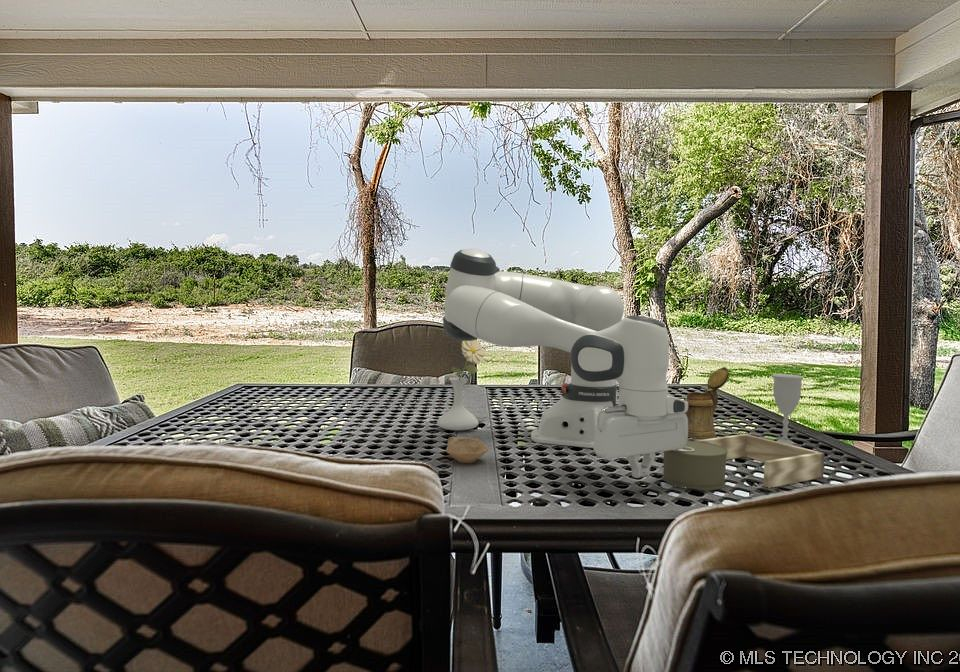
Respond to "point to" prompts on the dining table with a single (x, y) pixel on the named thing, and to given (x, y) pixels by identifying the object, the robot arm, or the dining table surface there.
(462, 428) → the flower in vase
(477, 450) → the pottery oil lamp
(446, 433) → the dining table surface
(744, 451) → the box
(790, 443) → the chalice
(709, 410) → the wooden mug
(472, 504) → the dining table surface
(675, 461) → the can
